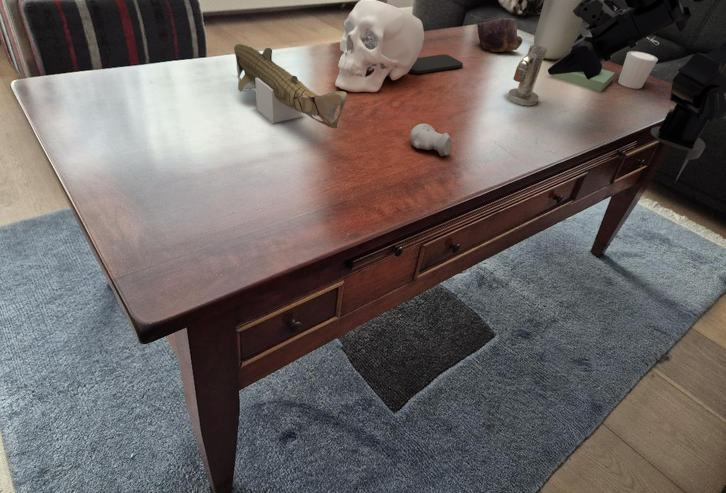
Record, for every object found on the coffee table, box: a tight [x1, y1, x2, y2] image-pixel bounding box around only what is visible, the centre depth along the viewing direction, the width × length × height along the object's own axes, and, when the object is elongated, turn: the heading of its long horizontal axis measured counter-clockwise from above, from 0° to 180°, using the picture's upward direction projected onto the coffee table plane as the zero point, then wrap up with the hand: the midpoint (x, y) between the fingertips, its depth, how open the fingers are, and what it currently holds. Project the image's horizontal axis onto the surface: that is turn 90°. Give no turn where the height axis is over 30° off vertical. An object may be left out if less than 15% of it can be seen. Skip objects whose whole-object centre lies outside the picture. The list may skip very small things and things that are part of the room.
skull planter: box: [334, 0, 425, 93], centre depth 102 cm, size 14×20×19 cm
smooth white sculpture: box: [409, 123, 453, 157], centre depth 82 cm, size 4×8×5 cm
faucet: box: [507, 58, 544, 107], centre depth 102 cm, size 6×6×9 cm
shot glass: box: [617, 50, 659, 90], centre depth 116 cm, size 7×7×7 cm
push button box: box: [551, 66, 616, 93], centre depth 117 cm, size 12×10×4 cm
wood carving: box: [233, 43, 348, 129], centre depth 84 cm, size 9×35×11 cm, turn 37°
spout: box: [513, 44, 547, 83], centre depth 95 cm, size 15×3×4 cm, turn 151°
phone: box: [409, 53, 464, 75], centre depth 115 cm, size 7×1×15 cm
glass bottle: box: [533, 0, 584, 60], centre depth 120 cm, size 10×10×28 cm
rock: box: [476, 17, 523, 53], centre depth 127 cm, size 12×9×10 cm
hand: (548, 72), depth 91 cm, fingers closed
